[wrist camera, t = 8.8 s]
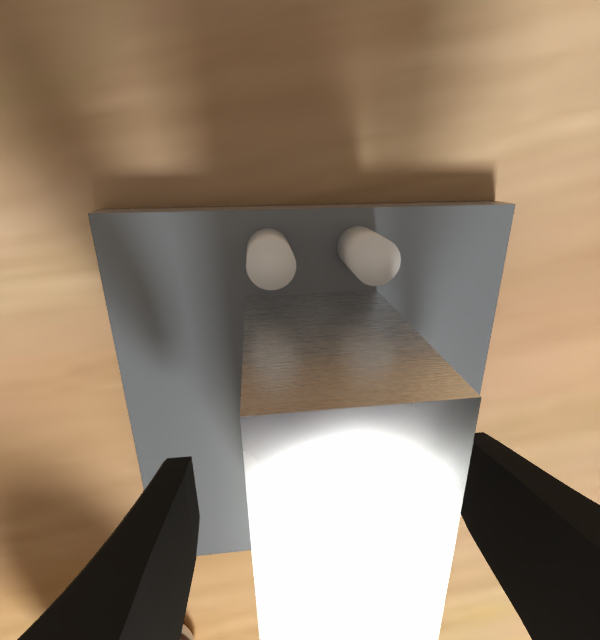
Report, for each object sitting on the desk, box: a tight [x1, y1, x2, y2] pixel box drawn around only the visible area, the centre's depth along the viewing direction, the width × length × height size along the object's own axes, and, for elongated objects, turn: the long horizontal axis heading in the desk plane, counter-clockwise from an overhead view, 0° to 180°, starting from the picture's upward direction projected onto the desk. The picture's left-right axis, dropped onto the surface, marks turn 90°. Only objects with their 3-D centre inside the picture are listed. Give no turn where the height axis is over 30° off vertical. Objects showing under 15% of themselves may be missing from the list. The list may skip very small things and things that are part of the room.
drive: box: [240, 290, 481, 640], centre depth 11 cm, size 8×4×6 cm, turn 1°
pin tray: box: [88, 201, 515, 556], centre depth 13 cm, size 13×12×3 cm
